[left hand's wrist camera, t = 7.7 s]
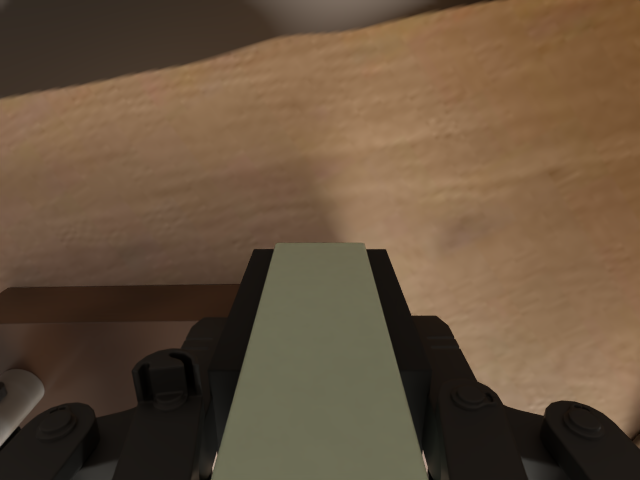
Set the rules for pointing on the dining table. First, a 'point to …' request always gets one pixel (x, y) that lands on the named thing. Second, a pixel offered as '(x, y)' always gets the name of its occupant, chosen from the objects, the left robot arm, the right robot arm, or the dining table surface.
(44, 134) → the dining table surface
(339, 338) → the peg
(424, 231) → the dining table surface
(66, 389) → the peg block
